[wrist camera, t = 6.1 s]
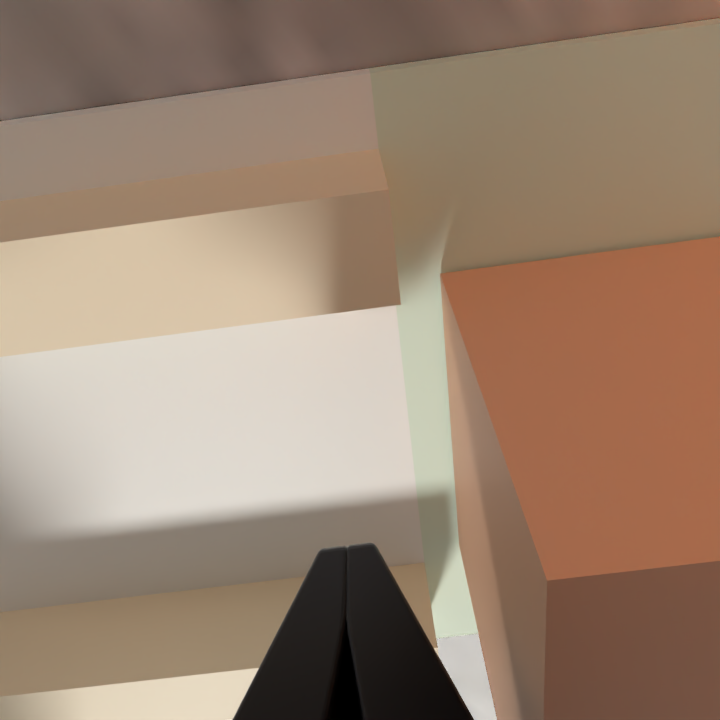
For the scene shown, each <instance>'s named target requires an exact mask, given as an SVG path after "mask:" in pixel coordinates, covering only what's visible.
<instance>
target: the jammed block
mask: <svg viewBox="0 0 720 720" xmlns="http://www.w3.org/2000/svg"><path fill="white" fill-rule="evenodd" d="M440 282H441V296H442V310H443V324H444V338H445V352H446V367H447V381H448V395H449V409H450V423H451V437H452V451H453V466H454V480H455V494H456V508H457V522H458V536H459V547H460V551H461V556H462V561H463V565H464V570H465V574H466V579H467V583H468V588H469V593H470V597H471V602H472V606H473V611H474V616H475V620H476V625H477V629H478V634H479V638H480V643H481V648H482V652H483V657H484V661H485V666H486V670H487V675H488V680H489V684H490V689H491V693H492V698H493V703H494V707H495V712H496V716H497V720H720V237H713V238H705V239H698V240H690V241H683V242H675V243H667V244H660V245H652V246H645V247H637V248H630V249H622V250H614V251H607V252H599V253H592V254H584V255H577V256H569V257H561V258H554V259H546V260H539V261H531V262H524V263H516V264H508V265H501V266H493V267H486V268H478V269H471V270H463V271H456V272H448V273H440Z"/></svg>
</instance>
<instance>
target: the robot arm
mask: <svg viewBox="0 0 720 720" xmlns="http://www.w3.org/2000/svg"><path fill="white" fill-rule="evenodd" d="M233 720H474V719H473V717H472V716H471V714H470V712H469V710H468V708H467V707H466V705H465V703H464V701H463V699H462V698H461V696H460V694H459V692H458V691H457V689H456V687H455V685H454V683H453V682H452V680H451V678H450V676H449V674H448V673H447V671H446V669H445V667H444V666H443V664H442V662H441V660H440V658H439V657H438V655H437V653H436V651H435V649H434V648H433V646H432V644H431V642H430V641H429V639H428V637H427V635H426V633H425V632H424V630H423V628H422V626H421V624H420V623H419V621H418V619H417V617H416V616H415V614H414V612H413V610H412V608H411V607H410V605H409V603H408V601H407V599H406V598H405V596H404V594H403V592H402V591H401V589H400V587H399V585H398V583H397V582H396V580H395V578H394V576H393V574H392V573H391V571H390V569H389V567H388V566H387V564H386V562H385V560H384V558H383V557H382V555H381V553H380V551H379V549H378V548H377V546H376V545H375V544H374V543H361V544H353V545H349V546H347V547H346V546H337V547H329V548H323V549H321V550H320V551H319V552H318V553H317V555H316V557H315V559H314V561H313V563H312V565H311V567H310V569H309V571H308V573H307V575H306V577H305V578H304V580H303V582H302V584H301V586H300V588H299V590H298V592H297V594H296V596H295V598H294V600H293V602H292V604H291V606H290V608H289V610H288V612H287V614H286V616H285V618H284V620H283V622H282V624H281V626H280V627H279V629H278V631H277V633H276V635H275V637H274V639H273V641H272V643H271V645H270V647H269V649H268V651H267V653H266V655H265V657H264V659H263V661H262V663H261V665H260V667H259V669H258V671H257V673H256V675H255V676H254V678H253V680H252V682H251V684H250V686H249V688H248V690H247V692H246V694H245V696H244V698H243V700H242V702H241V704H240V706H239V708H238V710H237V712H236V714H235V716H234V718H233Z"/></svg>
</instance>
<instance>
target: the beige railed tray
mask: <svg viewBox="0 0 720 720" xmlns="http://www.w3.org/2000/svg"><path fill="white" fill-rule="evenodd" d="M713 237H720V18H716V19H709V20H702V21H695V22H688V23H681V24H674V25H667V26H660V27H653V28H646V29H639V30H632V31H625V32H618V33H611V34H604V35H597V36H590V37H583V38H576V39H569V40H562V41H555V42H548V43H541V44H534V45H527V46H520V47H513V48H507V49H500V50H493V51H486V52H479V53H472V54H465V55H458V56H451V57H444V58H437V59H430V60H423V61H416V62H409V63H402V64H395V65H388V66H381V67H374V68H367V69H360V70H353V71H346V72H339V73H332V74H325V75H318V76H311V77H304V78H297V79H290V80H284V81H277V82H270V83H263V84H256V85H249V86H242V87H235V88H228V89H221V90H214V91H207V92H200V93H193V94H186V95H179V96H172V97H165V98H158V99H151V100H144V101H137V102H130V103H123V104H116V105H109V106H102V107H95V108H88V109H81V110H74V111H67V112H60V113H54V114H47V115H40V116H33V117H26V118H19V119H12V120H5V121H0V720H231V719H233V718H234V716H235V714H236V712H237V710H238V708H239V706H240V704H241V702H242V700H243V698H244V696H245V694H246V692H247V690H248V688H249V686H250V684H251V682H252V680H253V678H254V676H255V675H256V673H257V671H258V669H259V667H260V665H261V663H262V661H263V659H264V657H265V655H266V653H267V651H268V649H269V647H270V645H271V643H272V641H273V639H274V637H275V635H276V633H277V631H278V629H279V627H280V626H281V624H282V622H283V620H284V618H285V616H286V614H287V612H288V610H289V608H290V606H291V604H292V602H293V600H294V598H295V596H296V594H297V592H298V590H299V588H300V586H301V584H302V582H303V580H304V578H305V577H306V575H307V573H308V571H309V569H310V567H311V565H312V563H313V561H314V559H315V557H316V555H317V553H318V552H319V551H320V550H321V549H323V548H329V547H337V546H346V547H347V546H349V545H353V544H361V543H374V544H375V545H376V546H377V548H378V549H379V551H380V553H381V555H382V557H383V558H384V560H385V562H386V564H387V566H388V567H389V569H390V571H391V573H392V574H393V576H394V578H395V580H396V582H397V583H398V585H399V587H400V589H401V591H402V592H403V594H404V596H405V598H406V599H407V601H408V603H409V605H410V607H411V608H412V610H413V612H414V614H415V616H416V617H417V619H418V621H419V623H420V624H421V626H422V628H423V630H424V632H425V633H426V635H427V637H428V639H429V641H430V642H431V644H432V646H433V648H434V649H435V651H436V653H437V655H438V647H437V641H436V638H444V637H453V636H462V635H470V634H478V629H477V625H476V620H475V616H474V611H473V606H472V602H471V597H470V593H469V588H468V583H467V579H466V574H465V570H464V565H463V561H462V556H461V551H460V547H459V536H458V522H457V508H456V494H455V480H454V466H453V451H452V437H451V423H450V409H449V395H448V381H447V367H446V352H445V338H444V324H443V310H442V296H441V282H440V273H448V272H456V271H463V270H471V269H478V268H486V267H493V266H501V265H508V264H516V263H524V262H531V261H539V260H546V259H554V258H561V257H569V256H577V255H584V254H592V253H599V252H607V251H614V250H622V249H630V248H637V247H645V246H652V245H660V244H667V243H675V242H683V241H690V240H698V239H705V238H713Z"/></svg>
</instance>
